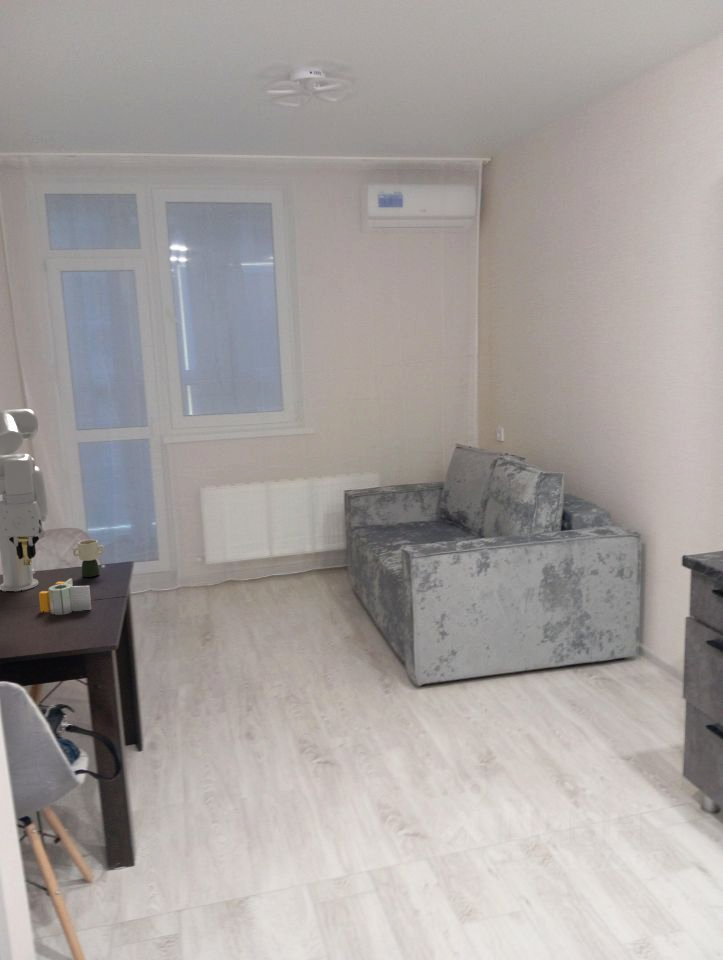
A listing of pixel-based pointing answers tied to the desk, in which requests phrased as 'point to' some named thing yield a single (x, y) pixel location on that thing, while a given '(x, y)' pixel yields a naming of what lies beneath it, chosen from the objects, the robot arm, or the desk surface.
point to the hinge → (69, 598)
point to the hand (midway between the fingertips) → (26, 557)
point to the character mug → (89, 556)
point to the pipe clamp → (45, 599)
